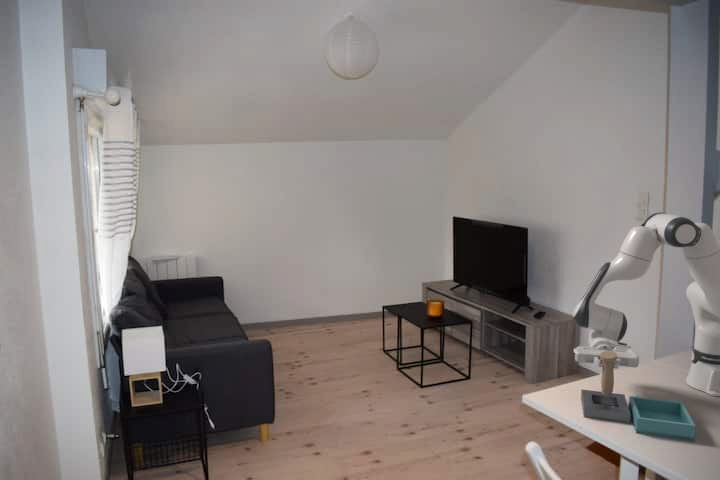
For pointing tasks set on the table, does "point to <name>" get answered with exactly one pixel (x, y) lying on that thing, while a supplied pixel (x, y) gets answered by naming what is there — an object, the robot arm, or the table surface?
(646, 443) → the table surface
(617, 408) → the socket block
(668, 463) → the table surface
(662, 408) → the bin
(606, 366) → the handle
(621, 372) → the table surface
